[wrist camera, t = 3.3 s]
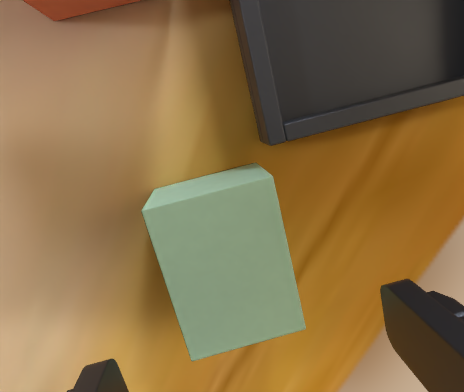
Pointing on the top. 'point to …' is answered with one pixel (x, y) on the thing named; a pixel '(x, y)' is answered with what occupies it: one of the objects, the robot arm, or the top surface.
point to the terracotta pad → (73, 7)
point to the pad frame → (346, 60)
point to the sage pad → (225, 259)
